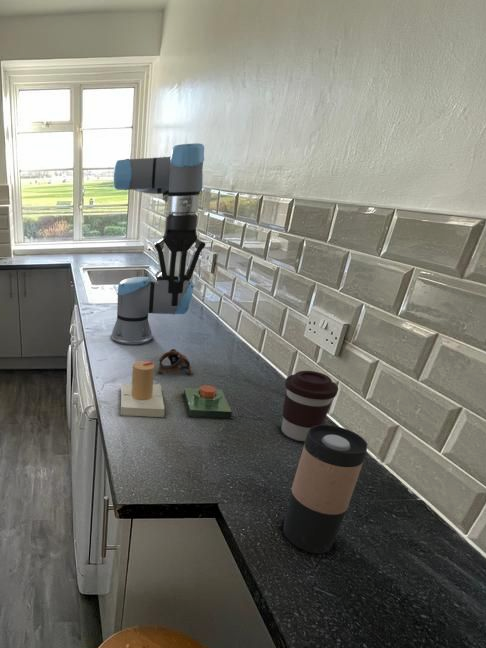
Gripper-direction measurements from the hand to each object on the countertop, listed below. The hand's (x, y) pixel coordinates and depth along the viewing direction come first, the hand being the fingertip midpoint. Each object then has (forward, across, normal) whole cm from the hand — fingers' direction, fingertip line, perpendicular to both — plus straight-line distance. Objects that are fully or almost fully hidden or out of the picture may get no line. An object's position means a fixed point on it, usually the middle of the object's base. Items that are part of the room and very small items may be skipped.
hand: (173, 304), depth 111 cm
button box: (+24, +9, -13) cm, 29 cm away
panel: (+24, -8, -13) cm, 29 cm away
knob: (+22, -8, -13) cm, 27 cm away
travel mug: (+25, +18, -56) cm, 64 cm away
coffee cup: (+25, +28, -24) cm, 44 cm away
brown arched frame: (+25, +3, +8) cm, 26 cm away
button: (+21, +9, -13) cm, 26 cm away
